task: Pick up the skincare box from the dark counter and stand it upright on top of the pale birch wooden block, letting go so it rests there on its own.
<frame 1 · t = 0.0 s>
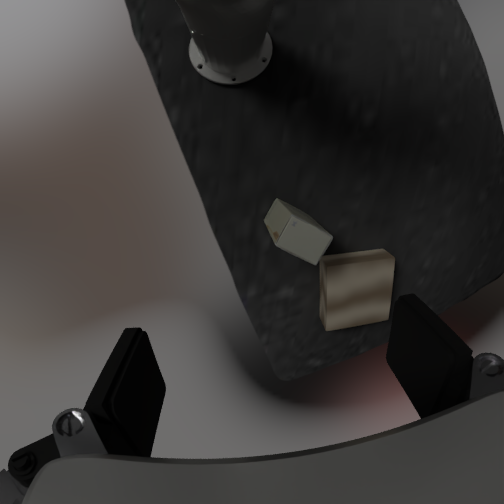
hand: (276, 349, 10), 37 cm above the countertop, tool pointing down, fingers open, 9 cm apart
birch block: (351, 283, 51), on the countertop
skincare box: (287, 218, 46), on the countertop
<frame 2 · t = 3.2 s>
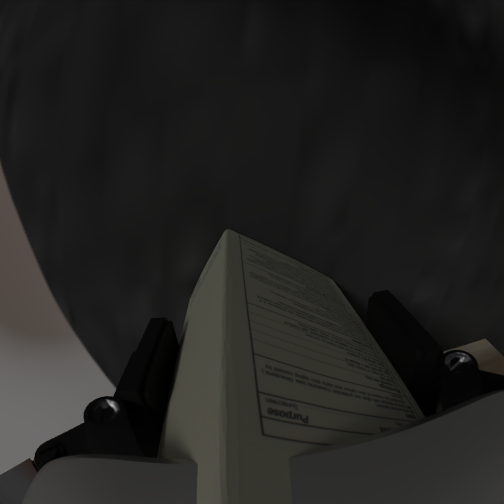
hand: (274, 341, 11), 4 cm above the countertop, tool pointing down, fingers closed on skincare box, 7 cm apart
birch block: (408, 406, 19), on the countertop
skincare box: (265, 290, 15), on the countertop, touching gripper
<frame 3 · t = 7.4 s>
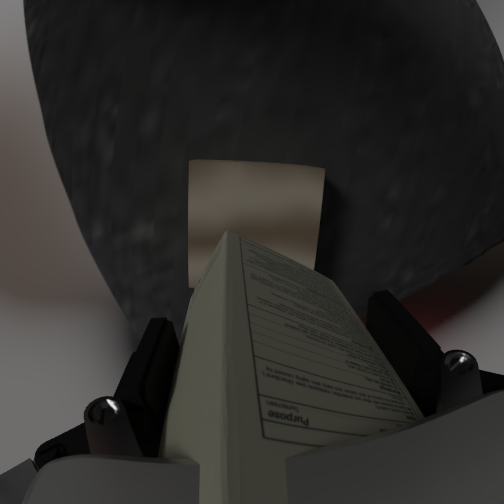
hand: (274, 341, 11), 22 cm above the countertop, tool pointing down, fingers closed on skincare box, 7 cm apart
birch block: (251, 218, 31), on the countertop
skincare box: (265, 291, 15), point 17 cm above the countertop, touching gripper
when the fingers open (9 cm above the countertop, at t = 11.6 s): skincare box stays where it is, resting on birch block.
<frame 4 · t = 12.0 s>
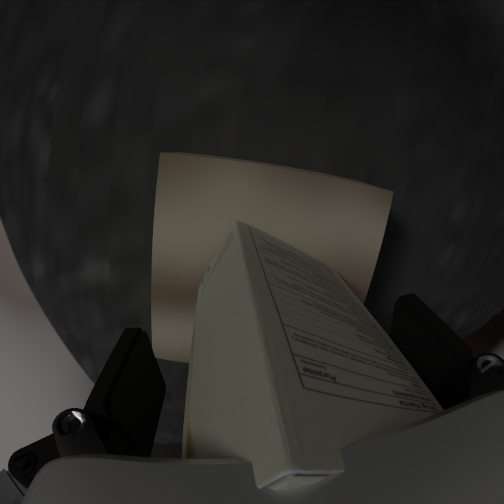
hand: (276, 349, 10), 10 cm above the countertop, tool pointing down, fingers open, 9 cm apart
birch block: (258, 252, 20), on the countertop, touching skincare box
skincare box: (270, 278, 16), point 4 cm above the countertop, touching birch block
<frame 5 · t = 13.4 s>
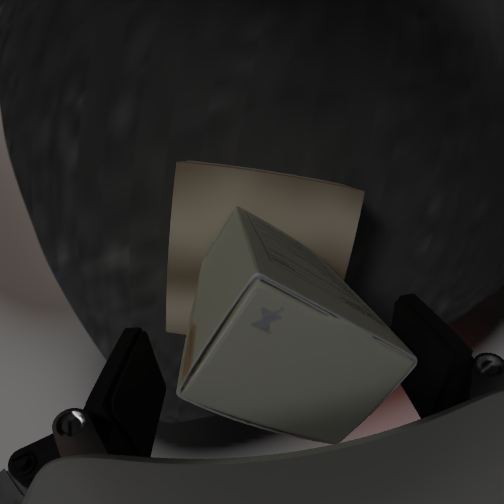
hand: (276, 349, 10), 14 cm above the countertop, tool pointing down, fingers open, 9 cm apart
birch block: (255, 244, 24), on the countertop
skincare box: (261, 257, 19), point 4 cm above the countertop
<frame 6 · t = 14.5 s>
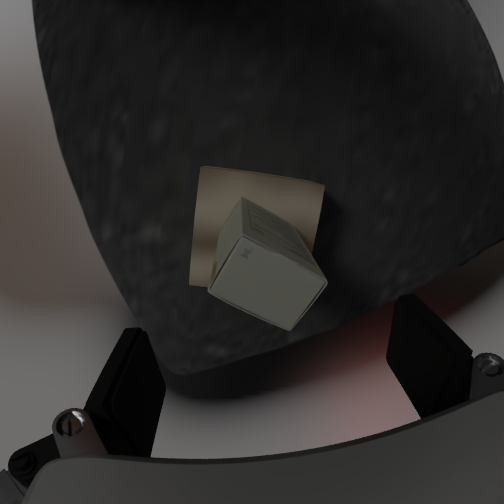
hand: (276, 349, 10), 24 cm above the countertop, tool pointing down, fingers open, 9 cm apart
birch block: (252, 225, 34), on the countertop, touching skincare box
skincare box: (258, 229, 29), point 4 cm above the countertop, touching birch block
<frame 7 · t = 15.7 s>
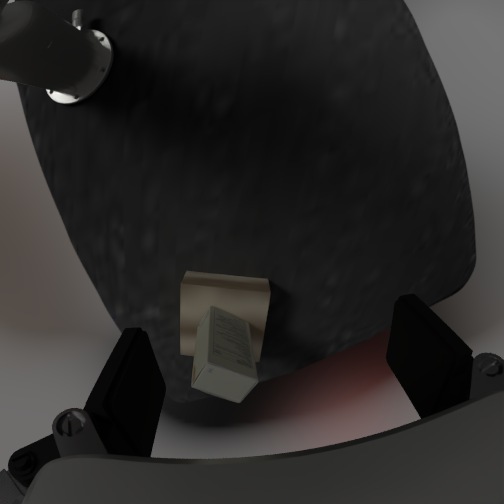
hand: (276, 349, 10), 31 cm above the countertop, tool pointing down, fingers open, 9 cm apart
birch block: (224, 309, 45), on the countertop, touching skincare box
skincare box: (224, 324, 41), point 4 cm above the countertop, touching birch block
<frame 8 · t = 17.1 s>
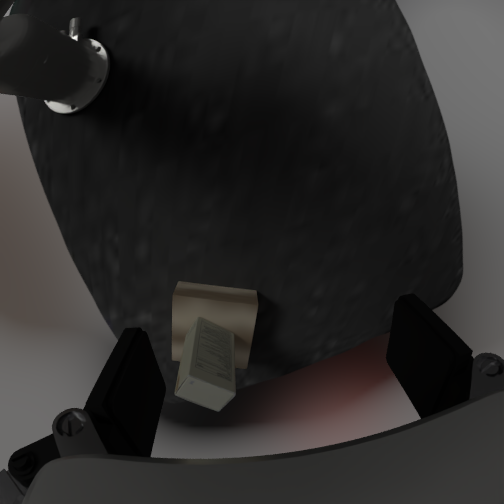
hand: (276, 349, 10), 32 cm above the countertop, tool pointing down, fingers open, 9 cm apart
birch block: (214, 317, 47), on the countertop, touching skincare box
skincare box: (211, 334, 42), point 4 cm above the countertop, touching birch block
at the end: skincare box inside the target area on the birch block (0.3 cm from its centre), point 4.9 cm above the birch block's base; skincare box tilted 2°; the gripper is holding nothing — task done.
